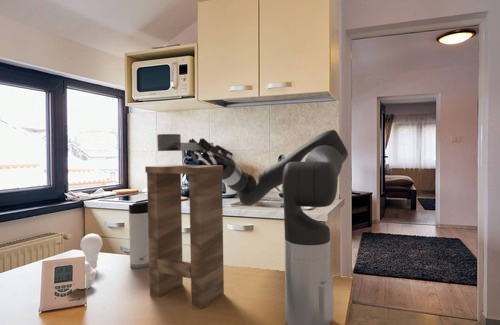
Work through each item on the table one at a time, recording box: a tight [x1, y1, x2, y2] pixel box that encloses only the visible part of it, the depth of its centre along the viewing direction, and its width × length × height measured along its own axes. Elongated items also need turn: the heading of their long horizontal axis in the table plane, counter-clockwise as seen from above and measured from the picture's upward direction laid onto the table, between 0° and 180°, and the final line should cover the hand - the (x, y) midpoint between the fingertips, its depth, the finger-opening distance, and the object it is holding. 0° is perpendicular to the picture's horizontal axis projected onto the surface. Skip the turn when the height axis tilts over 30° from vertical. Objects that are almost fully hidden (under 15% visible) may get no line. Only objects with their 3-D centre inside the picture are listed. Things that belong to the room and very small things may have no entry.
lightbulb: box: [79, 233, 104, 270], centre depth 105 cm, size 6×6×11 cm
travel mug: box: [128, 201, 149, 269], centre depth 109 cm, size 6×7×20 cm
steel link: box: [156, 133, 214, 152], centre depth 92 cm, size 6×20×4 cm, turn 151°
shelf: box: [144, 164, 225, 310], centre depth 86 cm, size 16×10×32 cm, turn 61°
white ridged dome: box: [84, 261, 97, 290], centre depth 91 cm, size 6×6×7 cm
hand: (195, 141), depth 95 cm, fingers closed on steel link, 3 cm apart
